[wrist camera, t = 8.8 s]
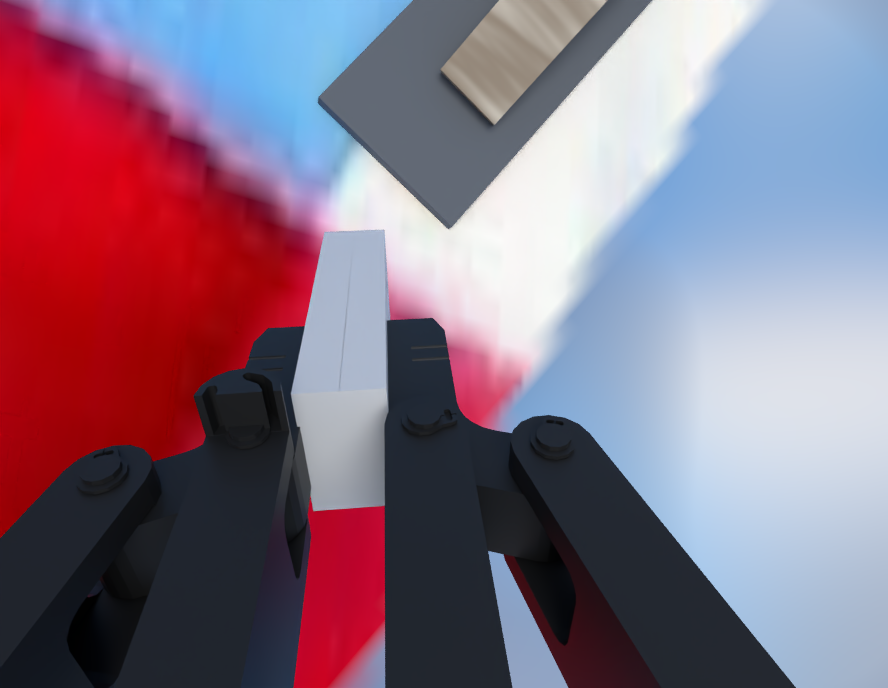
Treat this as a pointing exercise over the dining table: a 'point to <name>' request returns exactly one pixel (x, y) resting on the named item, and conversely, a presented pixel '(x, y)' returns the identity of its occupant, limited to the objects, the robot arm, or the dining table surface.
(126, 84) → the dining table surface
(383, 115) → the mat
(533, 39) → the domino
